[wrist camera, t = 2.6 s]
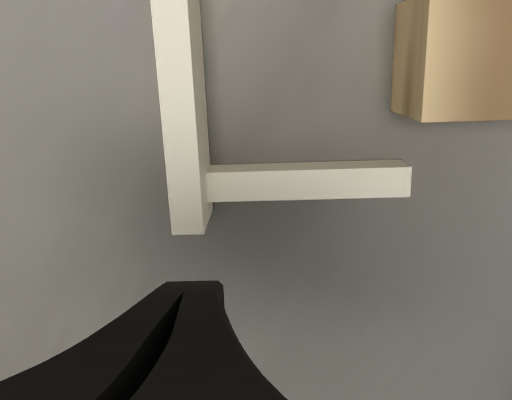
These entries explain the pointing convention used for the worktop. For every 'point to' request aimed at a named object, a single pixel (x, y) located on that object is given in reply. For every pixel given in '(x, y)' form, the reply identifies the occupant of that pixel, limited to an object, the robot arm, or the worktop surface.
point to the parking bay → (235, 175)
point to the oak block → (453, 60)
